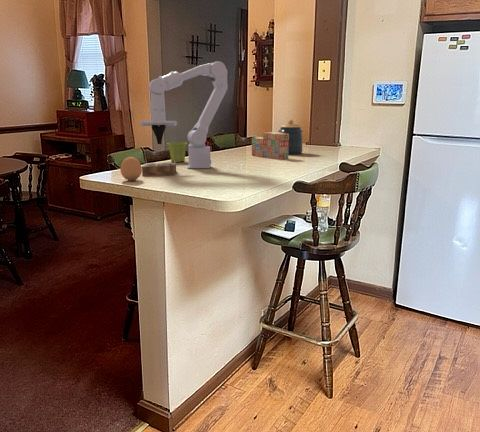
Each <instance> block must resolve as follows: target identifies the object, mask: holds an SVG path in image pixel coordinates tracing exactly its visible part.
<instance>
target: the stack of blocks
mask: <svg viewBox="0 0 480 432" xmlns="http://www.w3.org/2000/svg"><path fill="white" fill-rule="evenodd" d="M288 149H289V134H286V133H279V132H273V131H268V132H263V133H262V136H258V137H251V156H252V155H254V157H259V158H266V159H272V160H287V159H289V154H288Z"/></svg>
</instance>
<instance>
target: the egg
mask: <svg viewBox="0 0 480 432" xmlns="http://www.w3.org/2000/svg"><path fill="white" fill-rule="evenodd" d="M120 175H121V176H122V177H123V178H124V179H125V180H127V181H129V182H130V181H131V182H134V181H136V180H138V179H139V178H140V177H141V176H142V164H141V163H140V161H139V160H138V158H136V157H134V156H128V157H126V158H125V159H123V161H122V163H121V165H120Z"/></svg>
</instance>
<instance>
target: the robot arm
mask: <svg viewBox="0 0 480 432" xmlns="http://www.w3.org/2000/svg"><path fill="white" fill-rule="evenodd" d="M198 76H204V77H208V78H209V79H210V81H211V83H212V86H213V90H212V92H211V94H210V96H209V98H208V100H207V102H206V104H205V107H204V108H203V110H202V112H201V114H200V116H199V118H198V121H197V122H196V123H195V124H194V125H193V127H192V129H190V130H189V131H188V133H187V141H188V143H189V144H187V147H188V165H187V168H186V169H211V165H212V159H211V146H207V145H206V144H205V143H206V142H207V135H208V133H209V128H210V127H209V126H210V125H211V124H212V121H213V119H214V118H215V116H216V112H217V111H218V109H219V107H220V105H221V102H222V101H223V99H224V96H225V95H226V93H227V91H228V87H229V85H228V69H227V66H226V65H225V63H223V62H222V61H218V60H217V61H214V62H209V63H205V64H200V65H198V66H195V67H193V68H191V69H188V70H186V71H183V72H178V71H173V70H172V71H170V72H169V73H168V74H166V75H163V76H162V75H160V76H158V77H157V78H155V79H152V80H150V82H149V83H148V84H149V85H148V90H149V93H150V94H149V95H150V100H149V101H150V119H151V120H141V121H139V123H140V126H141V127H151V129H152V131H153V133H154V136H155V138H156V143H157V145H162V144H163V137H164V133H165V131H166V128H167V127H168V126H169V127H171V126H173V127H177V126H178V121H177V120H167V119H166V116H167V115H166V98H165V91H167V92H168V91H170V90H172V89H176V88H179V87H181V86H182V85H183V82H184V81H187V80H189V79H192V78H193V79H194V78H195V77H198Z"/></svg>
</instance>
